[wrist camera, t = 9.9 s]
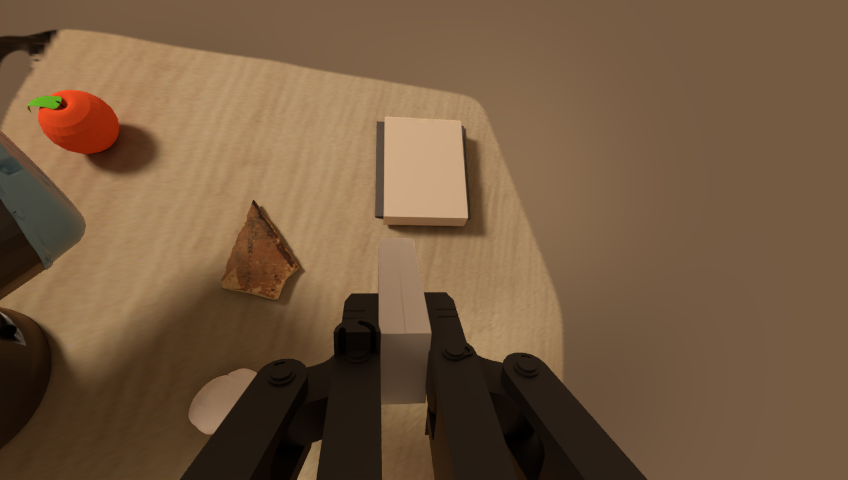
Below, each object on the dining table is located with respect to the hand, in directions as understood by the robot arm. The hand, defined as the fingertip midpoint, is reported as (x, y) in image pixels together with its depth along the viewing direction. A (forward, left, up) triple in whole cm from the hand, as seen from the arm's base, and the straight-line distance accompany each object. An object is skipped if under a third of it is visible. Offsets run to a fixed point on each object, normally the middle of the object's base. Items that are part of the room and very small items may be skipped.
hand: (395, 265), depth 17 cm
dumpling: (-15, -6, -28) cm, 33 cm away
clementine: (-35, +24, -28) cm, 51 cm away
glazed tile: (+5, +13, -26) cm, 30 cm away
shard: (-15, +9, -29) cm, 34 cm away
